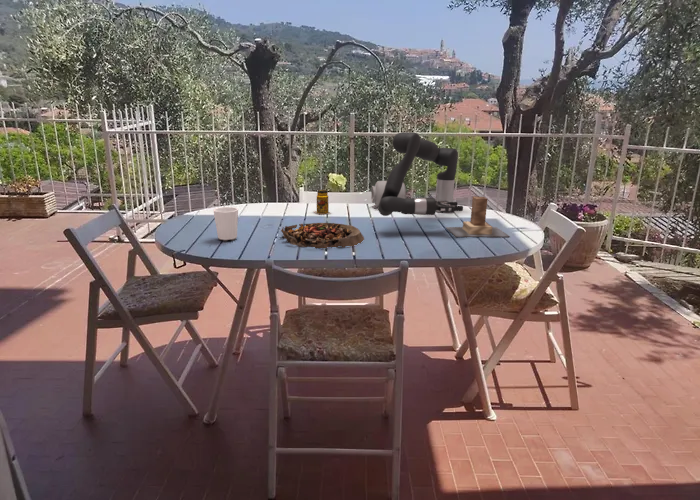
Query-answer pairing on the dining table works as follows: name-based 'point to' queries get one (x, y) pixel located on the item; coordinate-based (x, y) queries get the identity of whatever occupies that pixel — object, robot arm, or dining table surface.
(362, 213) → the dining table surface
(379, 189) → the jar
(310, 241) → the food dish
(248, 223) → the dining table surface
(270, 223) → the dining table surface
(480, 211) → the pillar
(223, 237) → the cup
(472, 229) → the plinth
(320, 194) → the condiment
